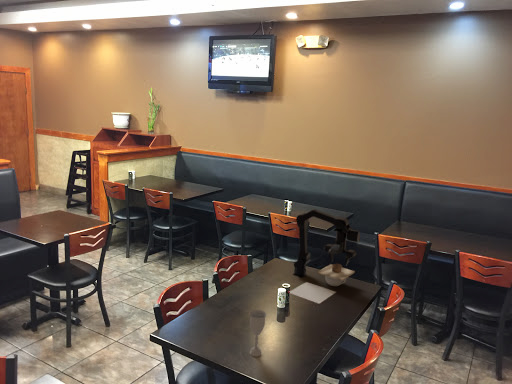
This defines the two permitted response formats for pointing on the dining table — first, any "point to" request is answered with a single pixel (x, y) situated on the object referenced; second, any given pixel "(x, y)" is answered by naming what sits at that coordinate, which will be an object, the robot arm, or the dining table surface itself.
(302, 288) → the mat
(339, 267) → the lid
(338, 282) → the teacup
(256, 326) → the chalice
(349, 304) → the dining table surface
